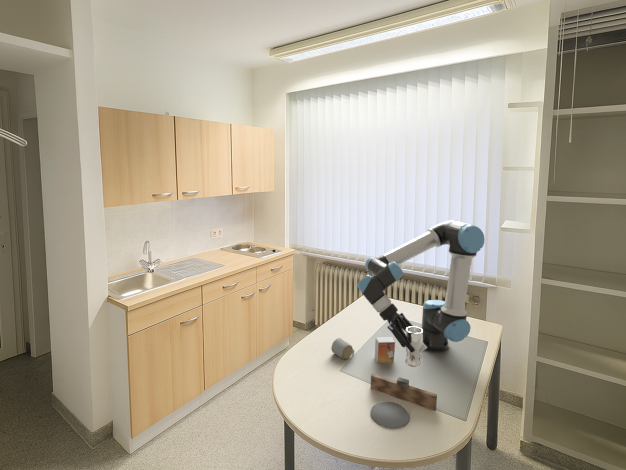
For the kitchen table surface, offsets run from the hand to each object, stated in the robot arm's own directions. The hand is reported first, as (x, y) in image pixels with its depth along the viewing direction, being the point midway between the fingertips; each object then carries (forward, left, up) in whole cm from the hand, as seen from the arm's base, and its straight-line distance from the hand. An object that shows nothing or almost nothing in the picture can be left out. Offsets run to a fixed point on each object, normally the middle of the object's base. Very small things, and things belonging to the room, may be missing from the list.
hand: (422, 353), depth 153 cm
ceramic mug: (+30, -24, -15) cm, 42 cm away
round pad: (+16, +19, -15) cm, 28 cm away
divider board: (+9, +9, -15) cm, 19 cm away
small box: (+12, -20, -15) cm, 27 cm away
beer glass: (+3, -2, -6) cm, 7 cm away
